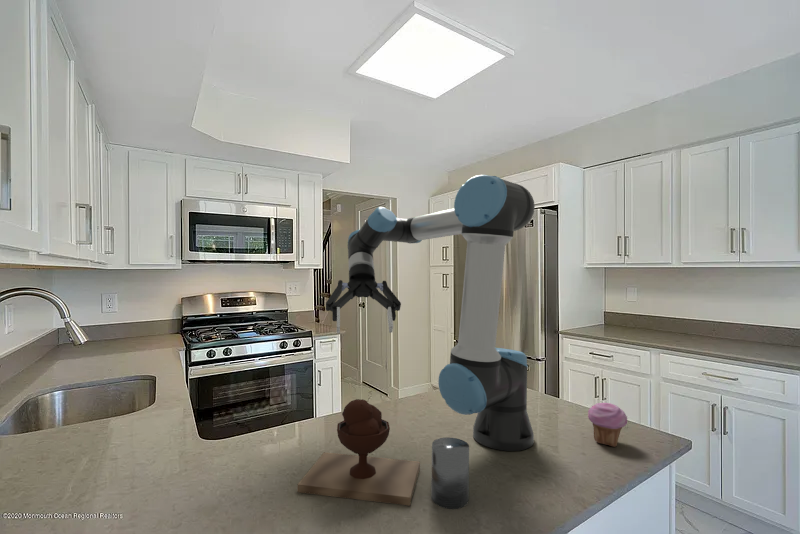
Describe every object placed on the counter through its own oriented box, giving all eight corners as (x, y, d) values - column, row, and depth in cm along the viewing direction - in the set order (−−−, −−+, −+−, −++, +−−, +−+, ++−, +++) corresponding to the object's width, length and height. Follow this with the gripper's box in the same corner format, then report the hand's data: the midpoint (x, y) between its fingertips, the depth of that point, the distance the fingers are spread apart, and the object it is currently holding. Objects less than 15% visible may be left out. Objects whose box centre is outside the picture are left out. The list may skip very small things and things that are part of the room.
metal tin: (468, 490, 78) (469, 439, 79) (468, 511, 72) (469, 455, 72) (433, 486, 80) (433, 436, 80) (429, 506, 73) (430, 451, 73)
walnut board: (419, 468, 87) (420, 461, 87) (410, 505, 73) (410, 497, 73) (323, 458, 91) (323, 452, 91) (297, 492, 77) (297, 484, 77)
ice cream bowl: (383, 489, 76) (384, 409, 76) (327, 482, 78) (328, 405, 78) (394, 462, 86) (395, 393, 86) (345, 457, 88) (346, 389, 88)
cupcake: (584, 443, 101) (584, 404, 101) (591, 432, 107) (592, 395, 108) (624, 453, 95) (624, 411, 95) (629, 441, 102) (629, 402, 102)
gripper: (401, 280, 122) (410, 337, 107) (318, 279, 118) (315, 339, 103) (404, 262, 117) (414, 320, 102) (318, 261, 113) (315, 321, 98)
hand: (365, 329), depth 102 cm, fingers open, 13 cm apart
